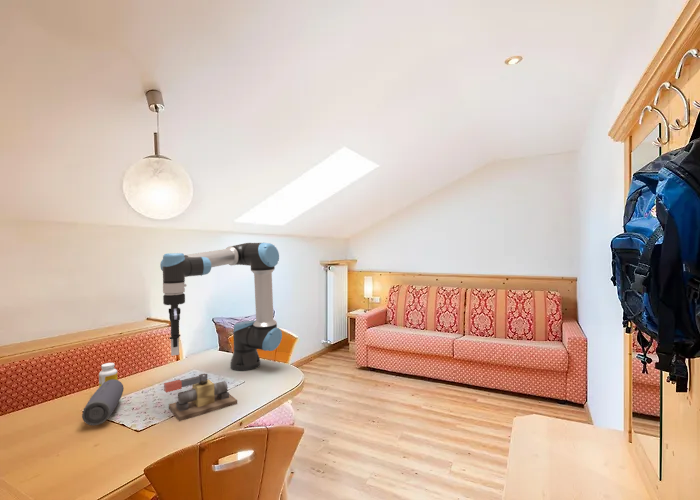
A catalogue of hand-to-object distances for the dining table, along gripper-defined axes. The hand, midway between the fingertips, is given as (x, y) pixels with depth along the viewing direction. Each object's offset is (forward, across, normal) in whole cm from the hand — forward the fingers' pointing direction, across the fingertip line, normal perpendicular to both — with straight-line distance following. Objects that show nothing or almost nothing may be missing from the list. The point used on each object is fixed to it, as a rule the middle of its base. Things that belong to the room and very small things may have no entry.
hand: (175, 354), depth 142 cm
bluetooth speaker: (+22, +10, +24) cm, 34 cm away
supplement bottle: (+22, +32, +24) cm, 46 cm away
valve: (+22, 0, -10) cm, 24 cm away
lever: (+13, -1, -4) cm, 13 cm away
